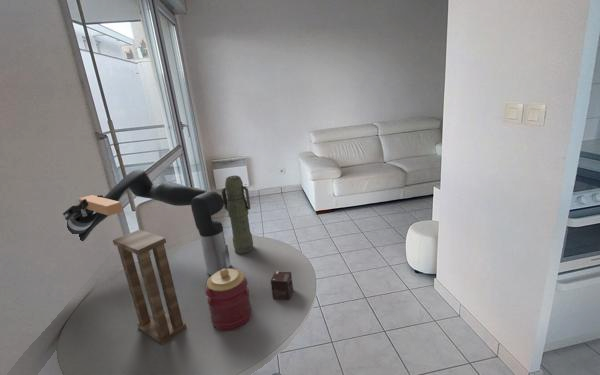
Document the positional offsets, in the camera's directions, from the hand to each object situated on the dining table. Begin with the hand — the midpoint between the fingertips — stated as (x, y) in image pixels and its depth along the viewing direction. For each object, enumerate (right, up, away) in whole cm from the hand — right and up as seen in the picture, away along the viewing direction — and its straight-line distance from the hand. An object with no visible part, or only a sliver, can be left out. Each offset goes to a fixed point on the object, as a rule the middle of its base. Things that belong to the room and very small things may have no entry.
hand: (93, 199), depth 100 cm
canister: (+45, -38, 0) cm, 59 cm away
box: (+61, -34, +9) cm, 70 cm away
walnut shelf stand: (+23, -40, -2) cm, 47 cm away
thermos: (+41, -25, +44) cm, 65 cm away
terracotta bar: (+3, -3, -1) cm, 5 cm away
